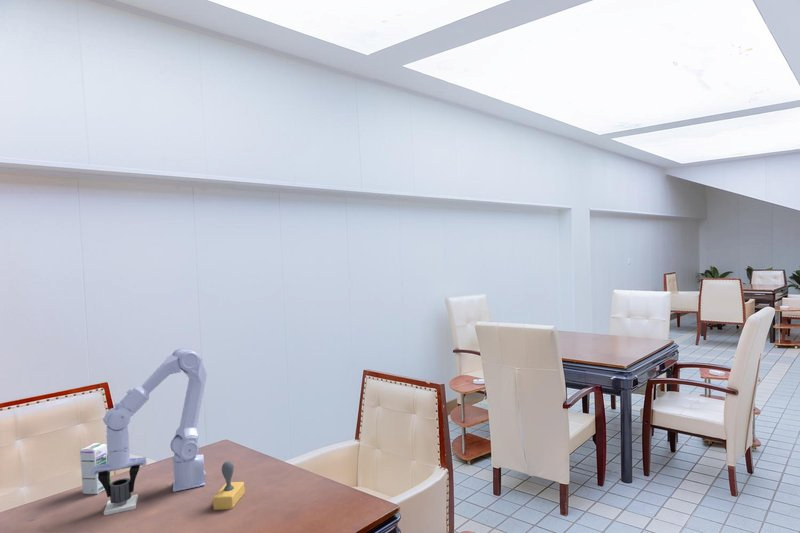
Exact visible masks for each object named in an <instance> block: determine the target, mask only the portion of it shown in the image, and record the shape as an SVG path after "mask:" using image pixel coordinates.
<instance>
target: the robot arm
mask: <svg viewBox="0 0 800 533" xmlns="http://www.w3.org/2000/svg"><path fill="white" fill-rule="evenodd" d="M181 372H183V373H184V374H185V375H186V376H187V377H188V382H187V389H186V392H185V398H184V403H183V407H182V412H181V418H180V423H179V427H178V428H177V429H176V431H175V435H174V437H173V438H172V439H171V441H170V445H169V446H170V450H171V452H172V453H173V457H172V460H173V461H172V462H173V463H172V464H173V483H172V484H173V485H172V492H175V493H176V492H179V491H184V490H189V489H193V488H198V487H203V486H205V485H206V480H205V479H206V470H205V463H204V462H205V460H204V459H205V458H204V454H199V451H200V446H199V440H198V439H199V433H198V423H199V422H198V421H199V417H200V411H201V408H202V407H201V406H202V402H203V401H202V400H203V396H204V390H205V386H206V380H207V370H206V368H205V365H204V363H203V358H202V356H200V355H199V354H198V353H197V352H196V351H193V350H189V349H187V348H184V347H181V348H177V349H175V350H174V351H173V352H172V353H171V354H170V355H169V356H167V357H166V359H165V360H164V361H163V362H162V363H161V365H159V366H158V368H157V369H156V370H155V371H153V373H152V374H151V375H150V376H149V377H148V378H147V379H146V380H145V381H144V382H143V383H142V385H141V386H136V387H133V388H132V389H131V388H130V389H128V390H127V391H126V395H125V396H124V397H123V398H122V399H121V400H120V401H119V402H118V403H117V402H116V403H114V405H113V408H109V409H108V410H107V411H106V413H105V414H104V415H103V416H104V418H102V419H103V422H104V425H106V443H107V454H108V463H105V464H102V465H98V466H94V467H91V476H92V475H95V474H98V480H99V481H100V482H101V483H102V485H103V487H104V489H105V490H104V491H105V493H106V497H107V498H110V489H109V484H110V478H111V472H113V471H119V470H125V469H129V479H130V492H131V493H133V492H134V490H135V482H136V479H137V475H138V473H139V471H140V467H145V466H147V464H148V463H147V461H148V460H147V456H144V457H135V458H131V455H130V440H129V438H130V437H129V430H128V429H129V428H128V426H129V424H130V422H131V417H133V416H134V415H135V414H136V413H137V412H138V411H139V410H140V409H141V408H142V407H143V406H144V405H145V404H146V403H147V402H148V401H149V399H150V393H151V392H153V391H154V390H155V389H156V388H157V387H158V386H159V385H160V384H161V383H162V382H163V381H164V380H166V379H167V378H168V377H169V376H170V375H173V374H174V375H175V374H179V373H181Z"/></svg>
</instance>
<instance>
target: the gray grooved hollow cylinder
mask: <svg viewBox="0 0 800 533" xmlns="http://www.w3.org/2000/svg"><path fill="white" fill-rule="evenodd" d="M109 489H110V497H109V500H110V502H111V503H121V502H124V501H127V500H128V499H130V498H131V496H132V492H130V478H125V477H124V478H119V479H115V480H113V481H111V483H110V484H109Z"/></svg>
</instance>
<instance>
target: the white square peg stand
mask: <svg viewBox="0 0 800 533" xmlns="http://www.w3.org/2000/svg"><path fill="white" fill-rule="evenodd" d="M138 498H139V494H133V495H132V494H131V498H130V499H128V500H127V501H124V502H121V503H111V502H110V499H109V500H107V501H106V502H107V503H106V505H105V508H104V510H103V516H108V515H112V514H118V513H122V512H127V511H131V510H136V506H137V504H138Z"/></svg>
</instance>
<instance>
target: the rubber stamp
mask: <svg viewBox="0 0 800 533" xmlns="http://www.w3.org/2000/svg"><path fill="white" fill-rule="evenodd" d="M234 469H235V466H234V463H233V462H232V461H229V460H227V461H225V462H224V463H223V464H222V466H221V473H222V476H223V478H224V480H225V484H224V485H223V486H222V487H221V488H220V489H219V491H217V493H216V494H215V495H214V496H213V498H212V501H213V502H212V504H213V510H217V511H218V510H232V509H233V508H234V507H235V505H236V504H237V503H238V502H239V501H240V499H241V498H242V497H243V496H244V495H245V493H246V492H245V482H244V481H232V477H233V474H234V471H235V470H234Z"/></svg>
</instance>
